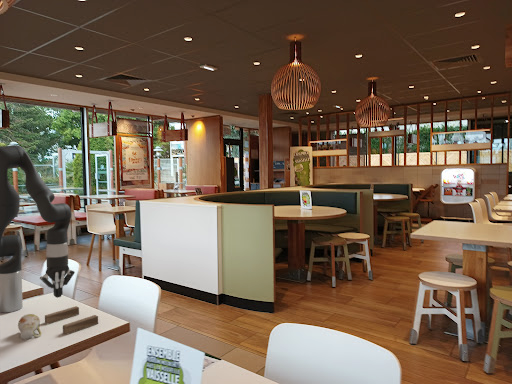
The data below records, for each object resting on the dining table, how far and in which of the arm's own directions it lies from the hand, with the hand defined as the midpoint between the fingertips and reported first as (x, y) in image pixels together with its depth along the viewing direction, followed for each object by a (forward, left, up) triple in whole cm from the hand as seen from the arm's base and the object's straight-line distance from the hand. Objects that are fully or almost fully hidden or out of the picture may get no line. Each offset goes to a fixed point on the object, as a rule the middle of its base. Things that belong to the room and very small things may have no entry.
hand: (58, 296), depth 146 cm
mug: (-1, -10, -13) cm, 16 cm away
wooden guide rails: (0, +5, -12) cm, 13 cm away
